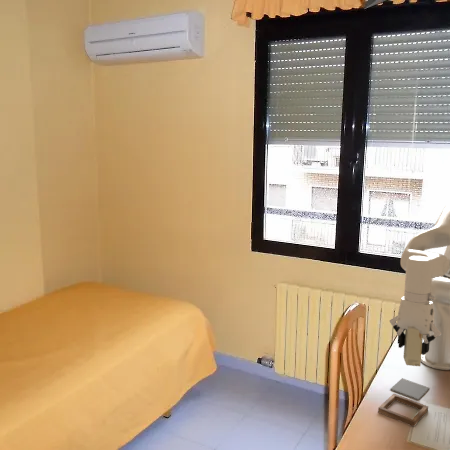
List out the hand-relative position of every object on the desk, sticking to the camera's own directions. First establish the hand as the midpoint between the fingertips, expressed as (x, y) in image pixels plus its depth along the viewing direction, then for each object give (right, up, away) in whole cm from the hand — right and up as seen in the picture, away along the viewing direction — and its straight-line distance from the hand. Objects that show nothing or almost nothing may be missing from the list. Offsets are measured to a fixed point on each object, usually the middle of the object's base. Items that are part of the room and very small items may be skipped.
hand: (412, 349), depth 151 cm
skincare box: (0, -4, +1) cm, 4 cm away
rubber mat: (0, -14, +3) cm, 14 cm away
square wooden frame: (-6, -16, -9) cm, 20 cm away
